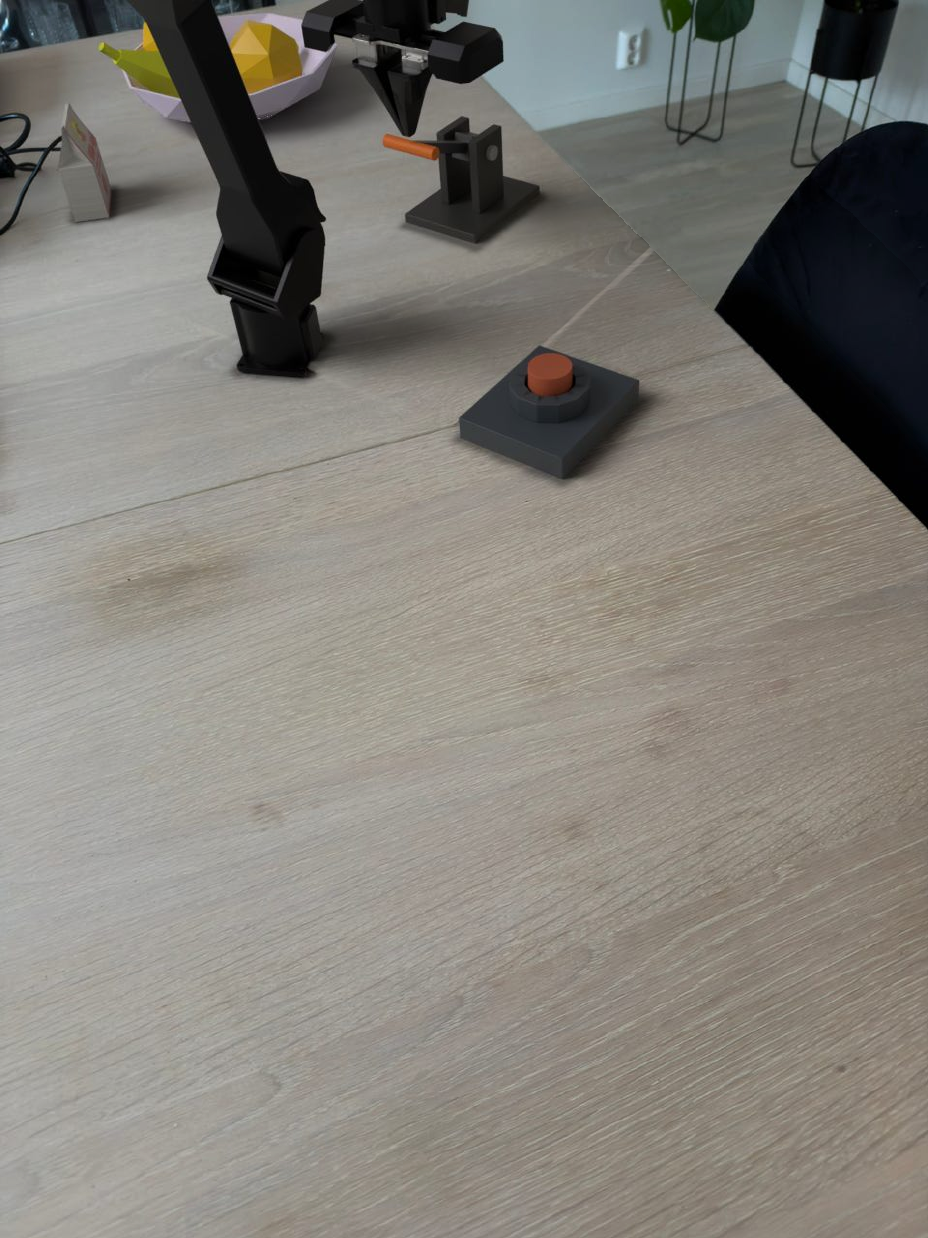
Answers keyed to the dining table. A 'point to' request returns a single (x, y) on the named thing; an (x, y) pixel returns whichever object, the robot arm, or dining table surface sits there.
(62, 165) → the small milk carton
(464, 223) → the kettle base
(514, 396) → the socket block
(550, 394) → the button
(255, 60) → the fruit bowl
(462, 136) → the switch lever
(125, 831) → the dining table surface
